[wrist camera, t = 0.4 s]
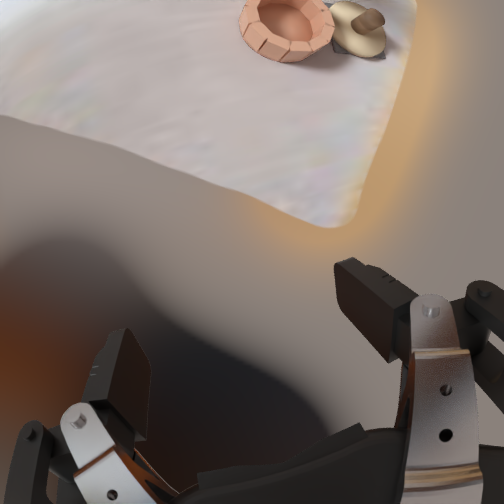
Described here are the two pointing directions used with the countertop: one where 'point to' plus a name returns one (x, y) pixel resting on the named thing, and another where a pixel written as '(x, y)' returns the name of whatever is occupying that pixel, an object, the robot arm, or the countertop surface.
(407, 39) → the countertop surface
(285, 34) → the bowl
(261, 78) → the countertop surface
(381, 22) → the lid
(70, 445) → the robot arm
